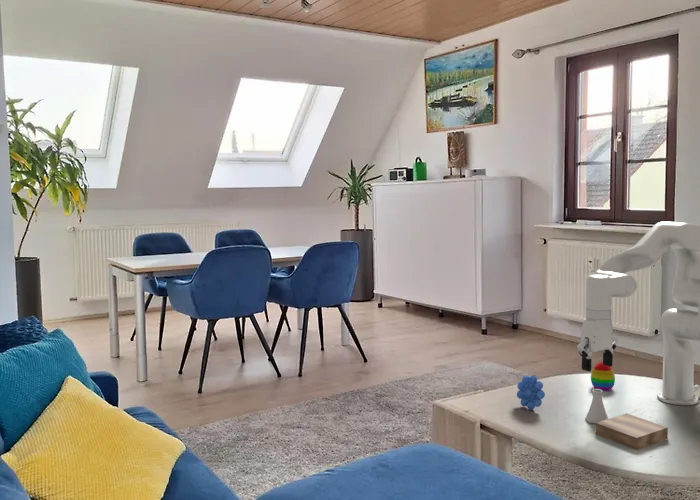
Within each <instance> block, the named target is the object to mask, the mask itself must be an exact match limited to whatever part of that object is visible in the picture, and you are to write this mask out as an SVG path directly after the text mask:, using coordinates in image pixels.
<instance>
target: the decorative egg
mask: <svg viewBox="0 0 700 500" xmlns="http://www.w3.org/2000/svg"><path fill="white" fill-rule="evenodd" d="M590 382H591V384H592V385H591V386H593V389H601V390H603V392H607V391H611V390H612V389H613V387H614V385H615V382H616V377H615V373H614V370H613V368H612V367H610V366H606V365H603V361H599V362H597V363H596V364H595V365H594V367H593V368H592V369H591V373H590Z"/></svg>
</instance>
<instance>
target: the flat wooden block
mask: <svg viewBox="0 0 700 500" xmlns="http://www.w3.org/2000/svg"><path fill="white" fill-rule="evenodd" d="M668 429H669V428H668V426H664V425H662V424H659V423H656V422H653V421H650V420H648V419H644V418H641V417H638V416H635V415H633V414H630V413H623V414H621V415H620V414H619V415H616V416H614V417H609V418H608V419H606V420H603V421H600V422H597V423H596V424H595V435H597V436H600V437H602V438H604V439H607V440H609V441H612V442H615V443H618V444H620V445H622V446H626V447H627V448H629V449H632V450H635V451H638V450H640V449H643V448H647V447H649V446H652V445H655V444H657V443H662V442H665V441H666V439H667V440H668V438H669V437H668V432H669V431H668Z"/></svg>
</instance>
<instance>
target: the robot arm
mask: <svg viewBox="0 0 700 500" xmlns="http://www.w3.org/2000/svg"><path fill="white" fill-rule="evenodd" d="M670 249H672V251H673V253H674V254H675V257H676V268H675V269H676V270H675V273H674V277H673V284H672V289H671V298H672V301H674V302H675V303H676V304H679V305H682V306H686V307H692V308H698V309H697V311H695V310H694V311H693V310H690V309H684V308H677V307H675V308H674V307H673V308H669V309H668V308H667V309H666V310H665V311H664V312H663V313H662V315H661V317H660V328H661V334H662V341H663V342H662V343H663V344H662V345H663V346H662V348H663V350H662V351H663V352H662V353H663V354H662V390H661V391H658V393H657V395H656V397H657V399H658V400H659V401H661V402H663V403H667V404H670V405H674V406H675V405H677V406H695V405H696V404H698V403H699V398H698V396H696V395H695V392H696V391H697V392H698V391H700V385H699V384H695V383H694V375H695V347H694V344H693V341H695V342H699V343H700V224H696V223H690V222H678V221H660V222H659V221H658V222H656V223H655V224H654V225H653V226H652V227H651V228H650V229H649V230H648V231H647V232H646V233H645V234H644V235H643V236H642V237H641V238H640V239H639V240H638V241H637V242H636V243H635V245H634V246H632V247H631V248H628V249H626V250H624V251H621V252H620V253H617V254H615V255H612V256H611V257H610V258H607V259H606V260H605V261H604V262H602V264H600V265H599V267H598V268H597V269H596V270H595V271H594V273H592V274H590V275H588V276H587V277H586V279H585V281H586V282H585V318H584V319H583V321H582V325H581V333H580V342H579V343H578V344H577V345H576V349H577V351H578V354H579V355H580V358H581V370H583V371H586V372H592V358H591V357H592V355H593V353H598V352H602V351H604V352H603V353H602V362H603V365H606V366H610V367H611V368H612V367H613V359H614V358H613V357H614V354H615V349H616V348H617V344H618V337H615V336H614V329H613V328H614V327H613V321H612V302H613V298H620V299H623V298H624V299H625V298H629V297H631V296H633V295H634V294H635V293H636V291H637V287H638V284H637V281H636V279H635V277H633V276H632V275H630V274H626V273H629V272H633V271H639V270H644V269H648V268H652V267H653V266H654V265H656V264H657V263H658V262H659V260H660V259H661V258H662V257H663V256H664V255H665V254H666V253H667V252H668V251H669V250H670ZM694 384H695V385H694Z"/></svg>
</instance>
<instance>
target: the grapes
mask: <svg viewBox="0 0 700 500" xmlns="http://www.w3.org/2000/svg"><path fill="white" fill-rule="evenodd" d="M543 388H544V383H543V382H542V381H540V380H538V378H537V376H536V375H530V376H529V375H524V376H523V377H522V379H521V381H519V382H518V383H517V389H518V391H517V393H516V397H517V399H519V400H520V403H519V404H520V405H521V406H522V407H526V408H527V409H528V410H530V411H532V410H534V409H535V408H539V407H541V406H542V403H543V401H542V400H543V399H544V398H545V396H546V393H545V392H544V390H542V389H543Z"/></svg>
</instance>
